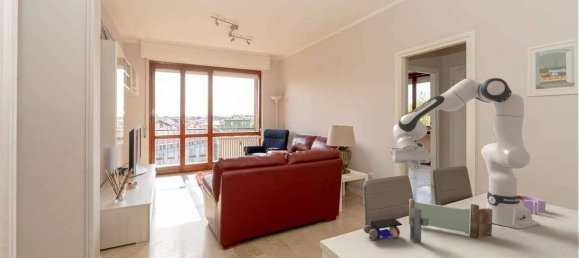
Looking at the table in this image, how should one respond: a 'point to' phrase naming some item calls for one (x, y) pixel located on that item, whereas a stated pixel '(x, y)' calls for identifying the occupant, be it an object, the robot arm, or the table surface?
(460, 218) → the gate
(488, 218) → the wooden hinge block
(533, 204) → the clip
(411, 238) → the latch post
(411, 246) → the table surface
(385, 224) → the figurine character
